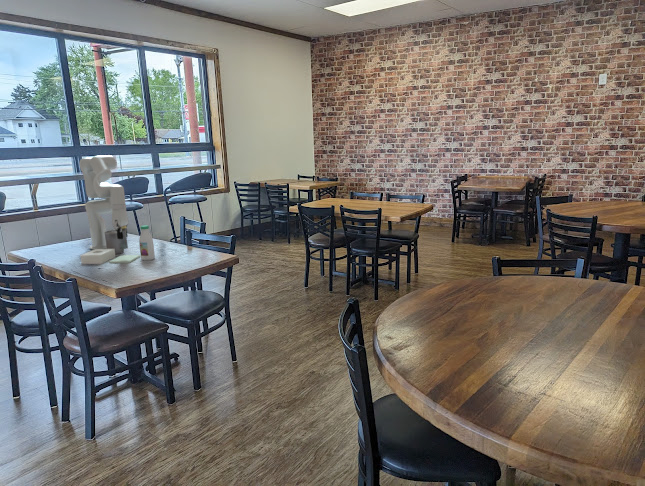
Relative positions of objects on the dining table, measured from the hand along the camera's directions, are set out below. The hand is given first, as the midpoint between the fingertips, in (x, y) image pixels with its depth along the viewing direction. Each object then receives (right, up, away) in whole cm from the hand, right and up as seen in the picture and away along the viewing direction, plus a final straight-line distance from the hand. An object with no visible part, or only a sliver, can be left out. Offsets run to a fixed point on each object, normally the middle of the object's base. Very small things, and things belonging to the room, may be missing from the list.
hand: (122, 237), depth 266 cm
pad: (0, -13, +3) cm, 14 cm away
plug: (0, -6, +1) cm, 6 cm away
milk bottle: (+13, -13, +4) cm, 19 cm away
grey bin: (-14, -10, +22) cm, 27 cm away
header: (-16, -13, +4) cm, 21 cm away
